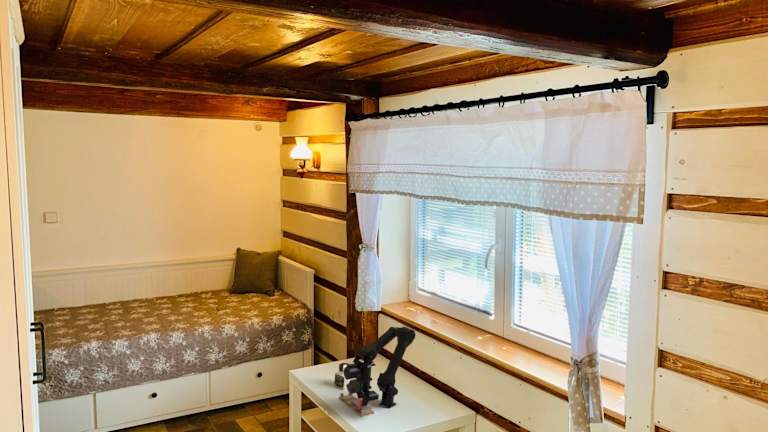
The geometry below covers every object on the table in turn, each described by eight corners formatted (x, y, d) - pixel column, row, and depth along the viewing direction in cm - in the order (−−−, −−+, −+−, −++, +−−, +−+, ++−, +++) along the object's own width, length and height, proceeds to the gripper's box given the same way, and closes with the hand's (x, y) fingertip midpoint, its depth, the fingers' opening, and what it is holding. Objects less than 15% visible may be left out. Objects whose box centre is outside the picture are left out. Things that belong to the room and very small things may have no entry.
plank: (339, 398, 277) (339, 391, 276) (351, 396, 280) (351, 389, 280) (361, 416, 258) (361, 409, 258) (374, 413, 262) (374, 406, 262)
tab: (349, 402, 270) (350, 393, 270) (356, 400, 273) (357, 392, 272) (359, 410, 262) (360, 401, 262) (367, 408, 264) (367, 399, 264)
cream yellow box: (334, 385, 292) (335, 363, 291) (344, 382, 297) (345, 360, 296) (343, 390, 287) (344, 367, 286) (353, 386, 293) (354, 364, 291)
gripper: (340, 370, 266) (338, 401, 268) (359, 386, 250) (356, 418, 252) (360, 367, 272) (358, 397, 274) (380, 382, 256) (377, 414, 258)
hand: (362, 406), depth 264 cm, fingers closed on tab, 3 cm apart
